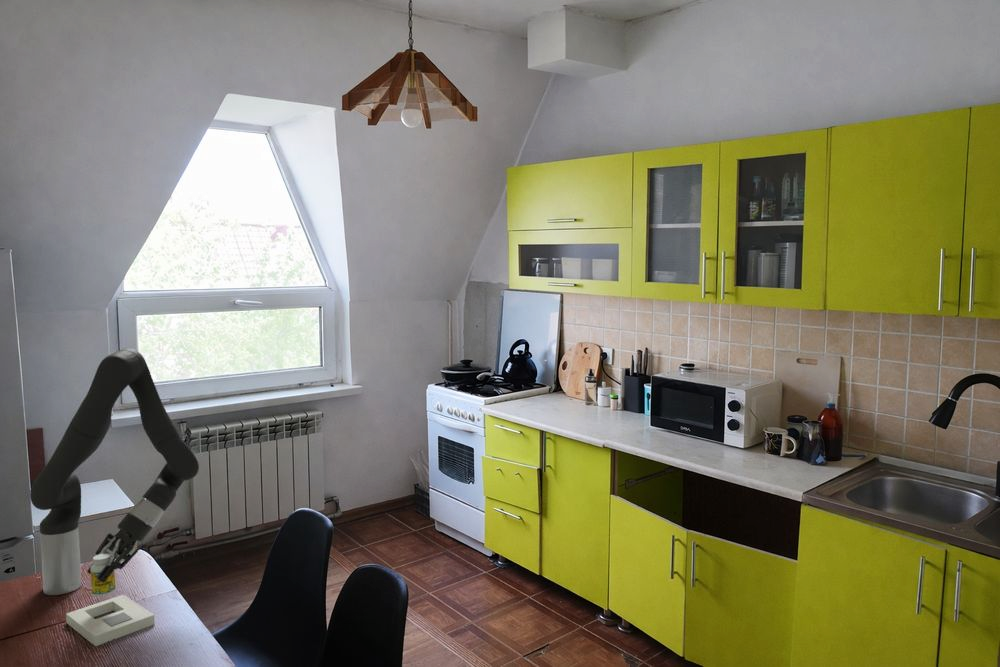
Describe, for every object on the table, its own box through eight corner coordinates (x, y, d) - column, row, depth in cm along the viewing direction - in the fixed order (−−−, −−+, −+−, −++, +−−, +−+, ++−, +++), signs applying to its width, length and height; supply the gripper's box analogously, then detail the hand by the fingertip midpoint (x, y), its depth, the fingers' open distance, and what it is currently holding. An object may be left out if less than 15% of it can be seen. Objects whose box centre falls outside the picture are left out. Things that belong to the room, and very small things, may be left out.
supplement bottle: (114, 586, 187) (112, 550, 186) (116, 593, 183) (115, 557, 182) (90, 591, 184) (89, 555, 184) (92, 599, 180) (90, 562, 179)
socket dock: (66, 623, 182) (66, 612, 182) (123, 603, 193) (123, 593, 193) (95, 646, 171) (94, 635, 170) (154, 624, 181) (154, 614, 181)
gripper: (118, 506, 192) (72, 562, 184) (143, 518, 183) (95, 578, 175) (139, 520, 197) (94, 576, 189) (164, 532, 188) (118, 592, 180)
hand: (95, 577), depth 182 cm, fingers closed on supplement bottle, 5 cm apart
